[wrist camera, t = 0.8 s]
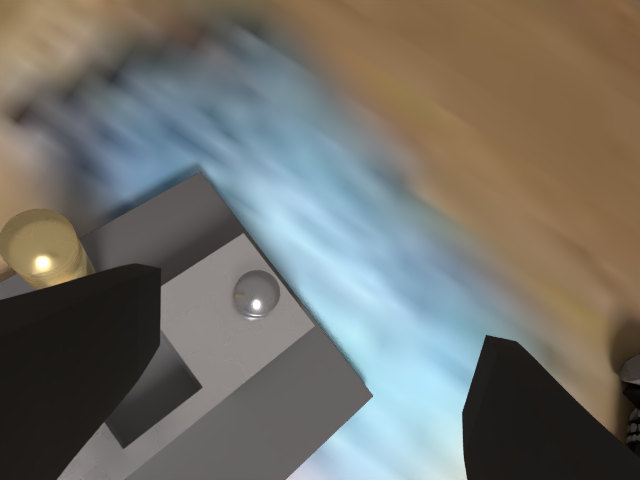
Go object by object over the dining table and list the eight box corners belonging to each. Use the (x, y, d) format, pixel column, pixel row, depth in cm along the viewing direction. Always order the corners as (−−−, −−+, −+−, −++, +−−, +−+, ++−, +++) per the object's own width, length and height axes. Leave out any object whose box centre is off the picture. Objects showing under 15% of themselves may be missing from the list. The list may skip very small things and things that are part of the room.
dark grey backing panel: (-43, 783, 18) (-55, 802, 17) (-252, 433, 20) (-272, 433, 19) (366, 396, 28) (373, 395, 27) (199, 179, 29) (200, 171, 28)
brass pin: (68, 328, 24) (22, 286, 17) (41, 288, 24) (-17, 231, 17) (113, 299, 25) (89, 248, 18) (87, 262, 25) (51, 197, 18)
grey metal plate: (-69, 632, 19) (-113, 670, 16) (-148, 502, 20) (-205, 515, 17) (303, 333, 27) (319, 322, 24) (238, 248, 27) (245, 227, 25)
